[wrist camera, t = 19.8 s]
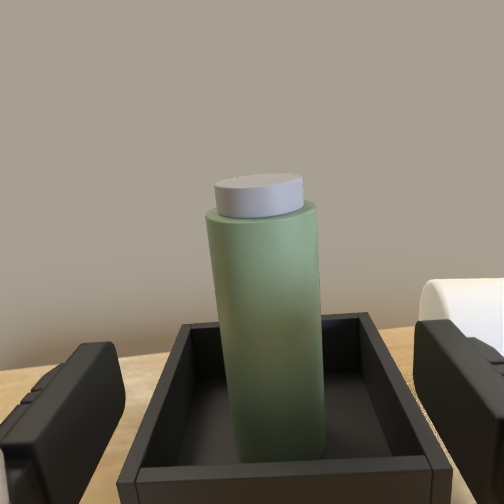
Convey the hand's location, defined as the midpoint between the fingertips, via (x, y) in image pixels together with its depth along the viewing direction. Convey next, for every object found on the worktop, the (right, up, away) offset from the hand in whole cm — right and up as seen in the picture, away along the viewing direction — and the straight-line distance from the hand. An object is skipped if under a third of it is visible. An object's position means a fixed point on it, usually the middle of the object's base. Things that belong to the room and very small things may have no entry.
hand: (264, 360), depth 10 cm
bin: (+1, -9, +13) cm, 16 cm away
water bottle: (+1, -8, +13) cm, 15 cm away
